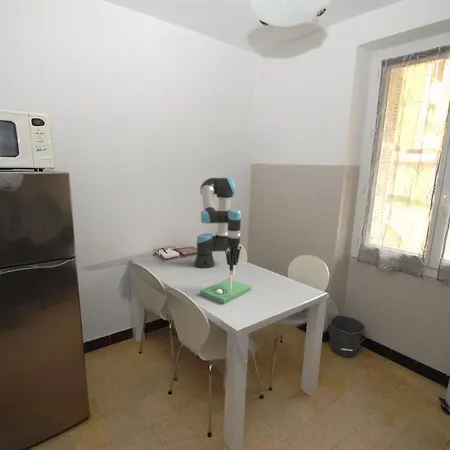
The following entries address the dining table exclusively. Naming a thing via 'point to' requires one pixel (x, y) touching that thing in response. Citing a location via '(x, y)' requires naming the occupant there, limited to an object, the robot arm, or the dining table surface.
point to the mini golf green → (225, 290)
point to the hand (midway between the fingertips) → (232, 275)
